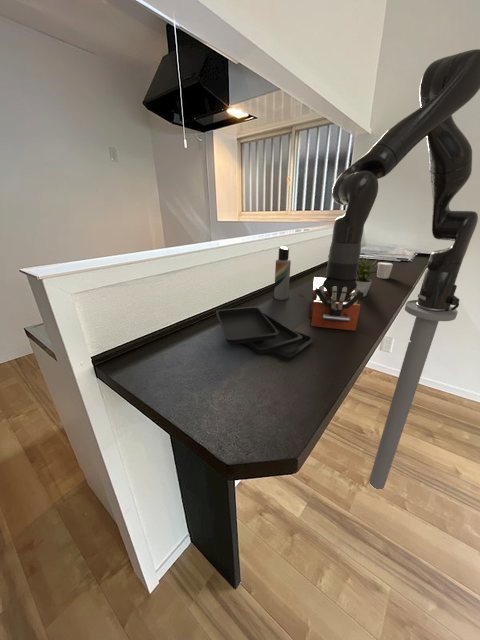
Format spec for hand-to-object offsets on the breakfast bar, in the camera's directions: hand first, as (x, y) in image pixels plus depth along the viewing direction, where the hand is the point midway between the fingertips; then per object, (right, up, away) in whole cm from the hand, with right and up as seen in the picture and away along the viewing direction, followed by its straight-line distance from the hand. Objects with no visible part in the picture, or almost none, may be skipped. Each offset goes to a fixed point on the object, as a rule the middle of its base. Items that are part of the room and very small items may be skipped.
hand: (334, 320), depth 75 cm
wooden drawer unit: (+2, 0, +8) cm, 8 cm away
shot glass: (+46, +22, +60) cm, 79 cm away
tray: (-23, -6, -1) cm, 23 cm away
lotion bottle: (-10, +9, +32) cm, 35 cm away
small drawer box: (+5, +3, +18) cm, 19 cm away
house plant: (+22, +11, +36) cm, 43 cm away
